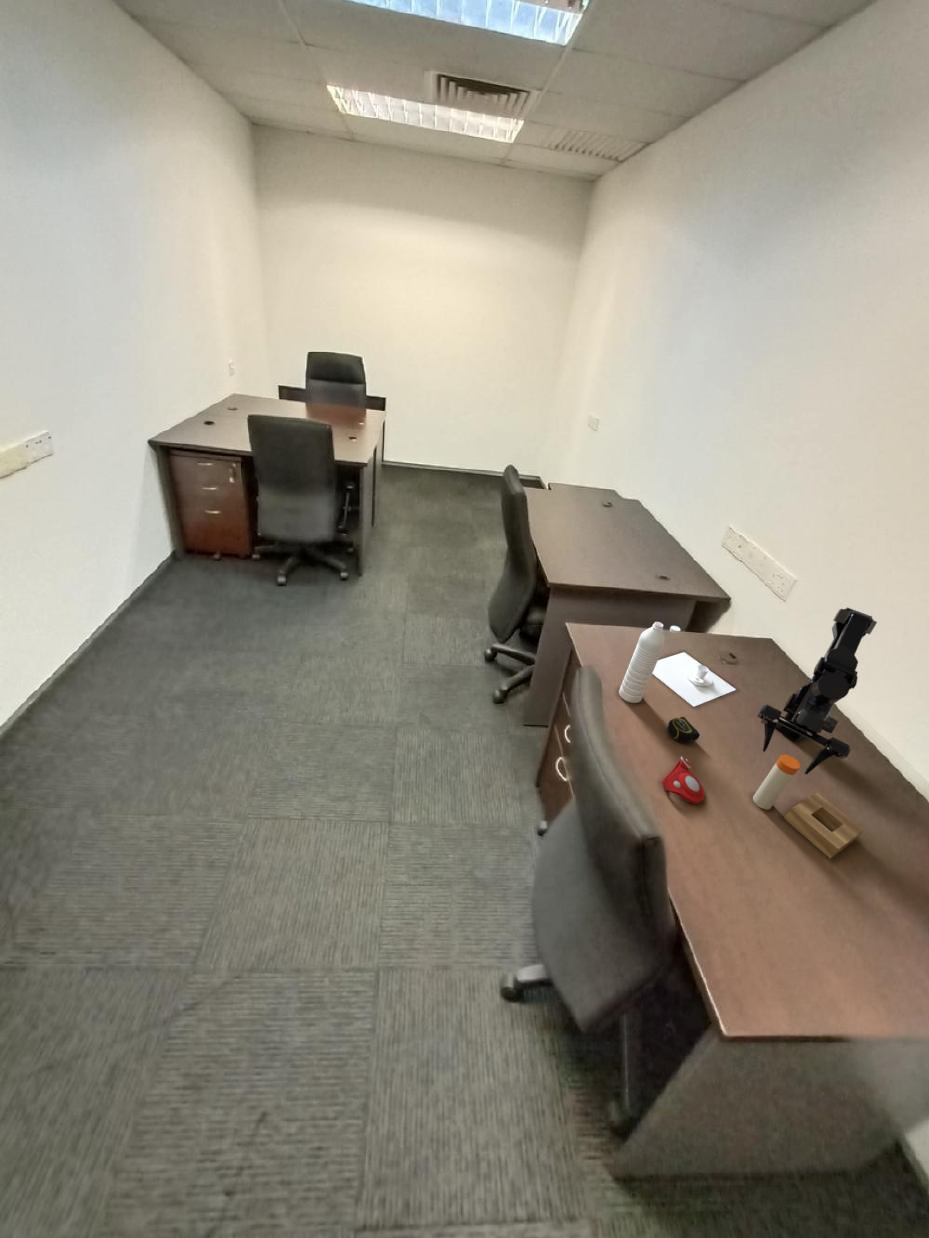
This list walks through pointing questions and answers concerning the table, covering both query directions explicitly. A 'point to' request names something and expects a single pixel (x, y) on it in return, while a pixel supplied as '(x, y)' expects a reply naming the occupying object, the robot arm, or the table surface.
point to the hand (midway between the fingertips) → (784, 762)
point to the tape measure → (682, 730)
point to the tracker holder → (684, 783)
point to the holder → (817, 832)
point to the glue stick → (776, 781)
